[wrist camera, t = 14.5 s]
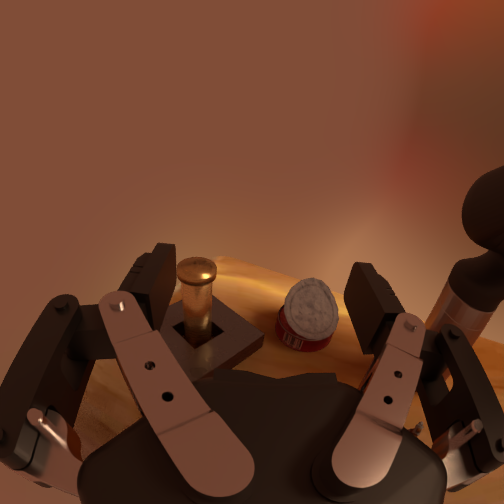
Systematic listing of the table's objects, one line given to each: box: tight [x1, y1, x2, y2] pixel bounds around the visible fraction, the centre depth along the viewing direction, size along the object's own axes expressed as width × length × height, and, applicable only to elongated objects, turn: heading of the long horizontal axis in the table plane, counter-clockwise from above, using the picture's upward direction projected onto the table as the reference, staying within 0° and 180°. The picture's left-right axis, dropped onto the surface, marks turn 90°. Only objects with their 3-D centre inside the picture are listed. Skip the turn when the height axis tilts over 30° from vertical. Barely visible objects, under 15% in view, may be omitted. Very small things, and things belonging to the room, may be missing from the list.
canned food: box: [275, 278, 339, 352], centre depth 45 cm, size 11×10×10 cm
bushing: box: [177, 257, 217, 349], centre depth 38 cm, size 5×5×14 cm
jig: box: [159, 295, 265, 382], centre depth 41 cm, size 14×14×3 cm
